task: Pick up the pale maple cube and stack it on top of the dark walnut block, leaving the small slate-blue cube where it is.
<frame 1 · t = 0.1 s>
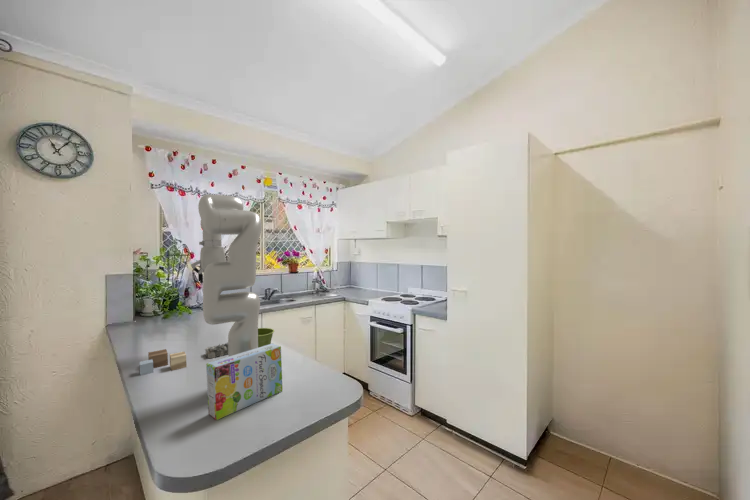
hand: (213, 281, 141), 31 cm above the table, tool pointing down, fingers open, 9 cm apart
plant pot: (260, 358, 130), on the table
snack box: (247, 402, 95), on the table
walnut block: (158, 365, 125), on the table
slate cube: (146, 372, 118), on the table
maple cube: (178, 367, 122), on the table
egg carton: (219, 354, 136), on the table
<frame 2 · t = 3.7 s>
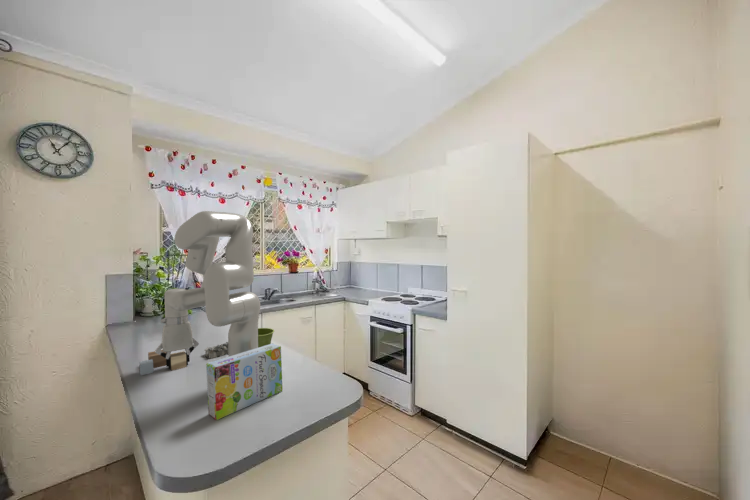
hand: (178, 365, 122), 0 cm above the table, tool pointing down, fingers closed on maple cube, 5 cm apart
maple cube: (178, 366, 122), on the table, touching gripper
everything else where it was.
when the fingers open (6 cm above the table, at t = 8.6 s): maple cube stays where it is, point 5 cm above the table.
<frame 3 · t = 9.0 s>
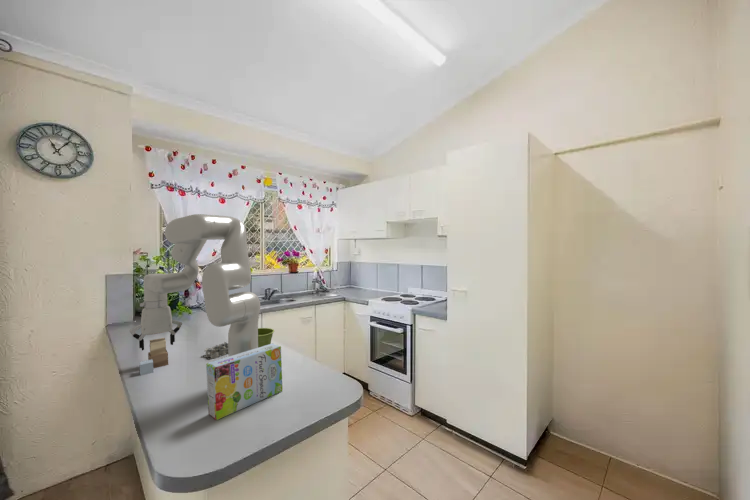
hand: (157, 346, 125), 7 cm above the table, tool pointing down, fingers open, 9 cm apart
maple cube: (158, 352, 125), point 5 cm above the table
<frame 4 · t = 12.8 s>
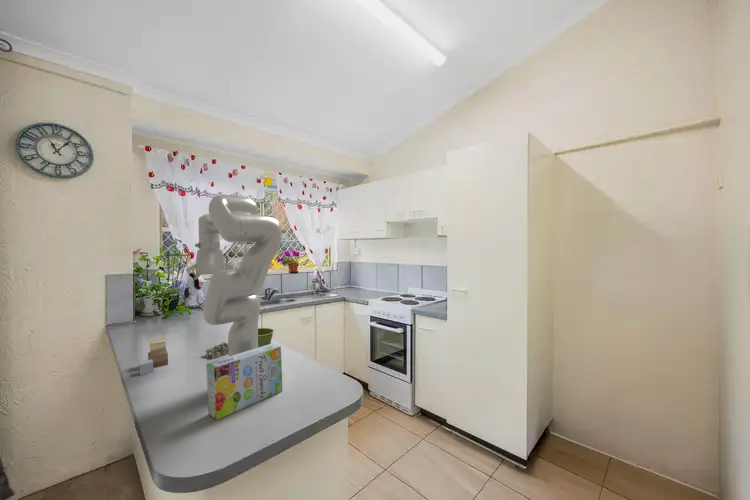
hand: (210, 287, 127), 30 cm above the table, tool pointing down, fingers open, 9 cm apart
walnut block: (158, 365, 125), on the table, touching maple cube
maple cube: (158, 352, 125), point 5 cm above the table, touching walnut block
at the end: maple cube 0.1 cm off-centre on the walnut block, point 5.0 cm above the walnut block's base; maple cube tilted 0°; the gripper is holding nothing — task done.
